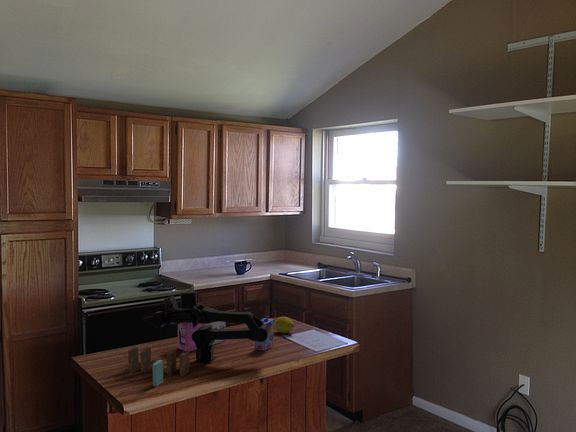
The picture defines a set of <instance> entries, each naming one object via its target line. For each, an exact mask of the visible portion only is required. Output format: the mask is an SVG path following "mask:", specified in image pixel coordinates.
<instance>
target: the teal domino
mask: <svg viewBox="0 0 576 432" xmlns="http://www.w3.org/2000/svg"><path fill="white" fill-rule="evenodd" d="M161 383H164V359H158V360H157V361H155V362H154V363H153V364H152V387H158V386H159V385H161Z"/></svg>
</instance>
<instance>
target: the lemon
mask: <svg viewBox="0 0 576 432" xmlns="http://www.w3.org/2000/svg"><path fill="white" fill-rule="evenodd" d="M294 328H295V323H294V322H293V320H292V319H290V317H285V316H281V317H280V316H279V317H277V319H276V320H275V321H274V329H275V330H276V331H277V332H278V333H280V334H289V332H291V331H292V330H293V329H294Z"/></svg>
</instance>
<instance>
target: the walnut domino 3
mask: <svg viewBox="0 0 576 432" xmlns="http://www.w3.org/2000/svg"><path fill="white" fill-rule="evenodd" d="M176 371H177V349H172V350H170V351H168V352H167V353H166V375H169V376H171V375H172V374H174V373H175V372H176Z"/></svg>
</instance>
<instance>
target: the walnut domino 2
mask: <svg viewBox="0 0 576 432" xmlns="http://www.w3.org/2000/svg"><path fill="white" fill-rule="evenodd" d="M151 350H152V348H151V347H147V348H144V349H142V350H141V351H140V372H141V373H146V372H147V371H149V370H150V369H152V351H151Z"/></svg>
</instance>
